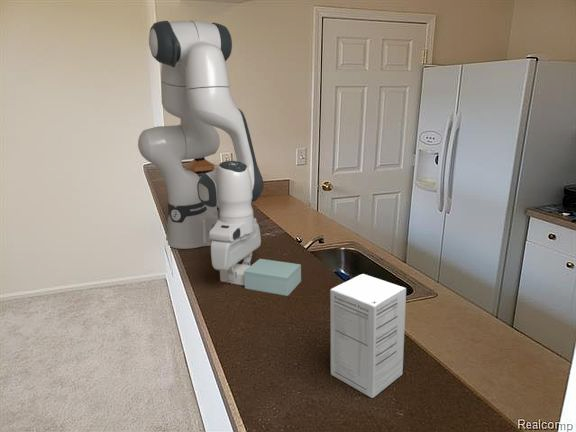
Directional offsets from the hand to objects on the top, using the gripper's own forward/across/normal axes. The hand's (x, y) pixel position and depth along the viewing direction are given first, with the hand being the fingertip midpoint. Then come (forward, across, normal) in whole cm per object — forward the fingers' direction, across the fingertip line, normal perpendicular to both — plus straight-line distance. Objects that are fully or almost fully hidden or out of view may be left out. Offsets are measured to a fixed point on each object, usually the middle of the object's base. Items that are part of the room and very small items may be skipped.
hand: (239, 273), depth 116 cm
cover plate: (+2, 0, +3) cm, 3 cm away
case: (+2, 0, +10) cm, 10 cm away
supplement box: (+2, +28, +41) cm, 49 cm away
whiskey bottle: (+2, -58, -50) cm, 76 cm away
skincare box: (+2, -42, -39) cm, 58 cm away
